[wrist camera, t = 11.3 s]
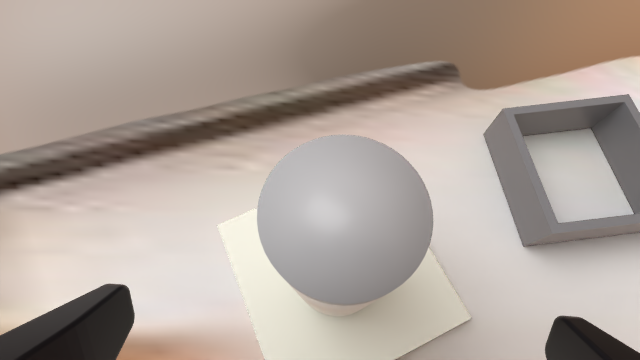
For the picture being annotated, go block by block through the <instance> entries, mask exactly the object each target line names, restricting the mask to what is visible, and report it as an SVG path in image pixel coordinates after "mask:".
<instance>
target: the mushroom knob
mask: <svg viewBox="0 0 640 360" xmlns="http://www.w3.org/2000/svg"><path fill="white" fill-rule="evenodd" d="M257 226H258V233H259V237H260V241H261V244H262V247H263V249H264V252H265V254H266V256H267V257H268V259H269V261H270V263H271V264H272V265H273V267H274V268H275V269H276V271H277V272H278V273H279V274H280V275H281V276H282V277H283V278H284V280H285V281H286V282H287V283H288V284H289V285H290V286H291V287H292V288H293V289H294V290H295V291H296V292H297V293H298V295H299V296H300V297H301V298H302V299H303V300H304V301H305V302H306V303H307V304H308V305H309V306H310V307H312V308H313V309H314V310H316V311H318V312H320V313H322V314H325V315H329V316H346V315H350V314H353V313H355V312H357V311H359V310H361V309H363V308H364V307H366V306H368V305H369V304H371V303H373V302H375V301H376V300H378V299H380V298H381V297H383V296H385V295H387V294H388V293H390V292H392V291H393V290H395V289H396V288H398V287H399V286H400V285H402V284H403V283H404V282H405V281H406V280H407V279H409V278H410V277H411V276H412V274H413V273H414V272H415V271H416V269H417V268H418V267H419V266H420V264H421V262H422V260H423V259H424V257H425V255H426V252H427V250H428V247H429V245H430V241H431V236H432V230H433V211H432V205H431V200H430V197H429V194H428V191H427V189H426V187H425V184H424V182H423V180H422V179H421V177H420V176H419V174H418V172H417V171H416V170H415V169H414V167H413V166H412V165H411V164H410V163H409V162H408V161H407V160H406V159H405V158H404V157H403V156H402V155H400V154H399V153H398V152H396V151H395V150H393V149H392V148H390V147H388V146H386V145H385V144H382V143H380V142H378V141H376V140H372V139H369V138H366V137H361V136H355V135H331V136H325V137H321V138H318V139H314V140H311V141H309V142H307V143H304V144H302V145H301V146H299V147H297V148H295V149H294V150H292V151H291V152H290V153H288V154H287V155H286V156H285V157H284V158H283V159H282V160H280V161H279V162H278V164H277V165H276V166H275V167H274V168H273V170H272V171H271V173H270V174H269V176H268V178H267V179H266V181H265V184H264V186H263V188H262V191H261V194H260V197H259V202H258V208H257Z"/></svg>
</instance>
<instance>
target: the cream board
mask: <svg viewBox="0 0 640 360" xmlns="http://www.w3.org/2000/svg"><path fill="white" fill-rule="evenodd" d="M257 208H258V207H257ZM257 208H255V209H253V210H251V211H248V212H246V213H244V214H241V215H239V216H237V217H235V218H232V219H230V220H228V221H225V222H223V223H221V224H219V225H217V226H218V229H219V232H220V235H221V238H222V240H223V243H224V246H225V249H226V252H227V255H228V257H229V260H230V263H231V266H232V269H233V272H234V274H235V277H236V280H237V283H238V286H239V289H240V291H241V294H242V297H243V300H244V303H245V306H246V308H247V311H248V314H249V317H250V320H251V323H252V325H253V328H254V331H255V334H256V337H257V340H258V342H259V345H260V348H261V351H262V354H263V357H264V359H265V360H395V359H397V358H399V357H401V356H403V355H404V354H406V353H408V352H410V351H412V350H414V349H416V348H417V347H419V346H421V345H423V344H425V343H427V342H429V341H430V340H432V339H434V338H436V337H438V336H440V335H441V334H443V333H445V332H447V331H449V330H451V329H453V328H454V327H456V326H458V325H460V324H462V323H464V322H466V321H467V320H469V319H471V316H470V314H469V313H468V311H467V309H466V308H465V306H464V304H463V303H462V301H461V299H460V298H459V296H458V294H457V293H456V291H455V289H454V288H453V286H452V284H451V283H450V281H449V279H448V278H447V276H446V274H445V273H444V271H443V269H442V268H441V266H440V264H439V263H438V261H437V259H436V258H435V256H434V254H433V253H432V251H431V249H430V248H429V247H428V250H427V252H426V255H425V257H424V259H423V260H422V262H421V264H420V266H419V267H418V268H417V269H416V271H415V272H414V273H413V274H412V276H411V277H410V278H409V279H407V280H406V281H405V282H404V283H403V284H402V285H400V286H399V287H398V288H396V289H395V290H393V291H392V292H390V293H388V294H387V295H385V296H383V297H381V298H380V299H378V300H376V301H375V302H373V303H371V304H369V305H368V306H366V307H364V308H363V309H361V310H359V311H357V312H355V313H353V314H350V315H346V316H329V315H325V314H322V313H320V312H318V311H316V310H314V309H313V308H312V307H310V306H309V305H308V304H307V303H306V302H305V301H304V300H303V299H302V298H301V297H300V296H299V295H298V293H297V292H296V291H295V290H294V289H293V288H292V287H291V286H290V285H289V284H288V283H287V282H286V281H285V280H284V278H283V277H282V276H281V275H280V274H279V273H278V272H277V271H276V269H275V268H274V267H273V265H272V264H271V263H270V261H269V259H268V257H267V256H266V254H265V252H264V249H263V247H262V244H261V241H260V237H259V233H258V226H257Z"/></svg>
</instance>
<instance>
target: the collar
mask: <svg viewBox="0 0 640 360" xmlns="http://www.w3.org/2000/svg"><path fill="white" fill-rule="evenodd" d="M586 128H592V130H593V132H594V134H595V136H596V138H597V140H598V142H599V144H600V146H601V148H602V150H603V152H604V154H605V156H606V158H607V160H608V162H609V164H610V166H611V168H612V170H613V172H614V174H615V176H616V178H617V180H618V182H619V184H620V186H621V188H622V190H623V192H624V194H625V196H626V198H627V200H628V202H629V204H630V205H631V207H632V209H633V211H634V213H635V214H633V215H624V216H616V217H608V218H600V219H591V220H583V221H575V222H566V223H558V222H557V220H556V217H555V215H554V213H553V210H552V208H551V205H550V203H549V200H548V198H547V195H546V193H545V190H544V188H543V186H542V183H541V181H540V178H539V176H538V173H537V171H536V168H535V166H534V163H533V161H532V158H531V156H530V154H529V151H528V149H527V146H526V144H525V141H524V139H523V136H525V135H534V134H542V133H551V132H560V131H568V130H577V129H586ZM484 137H485V140H486V142H487V145H488V148H489V151H490V154H491V156H492V159H493V162H494V165H495V168H496V171H497V173H498V176H499V179H500V182H501V185H502V187H503V190H504V193H505V196H506V199H507V202H508V204H509V207H510V210H511V213H512V216H513V218H514V221H515V224H516V227H517V230H518V233H519V235H520V238H521V241H522V244H523V246H531V245H539V244H547V243H555V242H564V241H572V240H580V239H588V238H597V237H605V236H613V235H621V234H629V233H638V232H640V113H639V111H638V109H637V108H636V106H635V104H634V102H633V101H632V99H631V97H630V96H629V94H627V95H619V96H610V97H601V98H592V99H584V100H575V101H566V102H557V103H549V104H540V105H531V106H522V107H514V108H505V109H502V111H501V112H500V113H499V115H498V116H497V117H496V118H495V120H494V121H493V122H492V124H491V125H490V126H489V127H488V129H487V130H486V131H485V133H484Z"/></svg>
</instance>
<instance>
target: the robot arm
mask: <svg viewBox="0 0 640 360" xmlns="http://www.w3.org/2000/svg"><path fill="white" fill-rule="evenodd" d="M134 316H135V315H134V309H133V305H132V300H131V295H130V291H129V288H128V287H127V286H125V285H121V284H106V285H103V286H101V287H99V288H97V289H95V290H93V291H91V292H89V293H87V294H85V295H83V296H81V297H78V298H76V299H74V300H72V301H70V302H68V303H66V304H64V305H62V306H60V307H58V308H56V309H54V310H52V311H50V312H48V313H46V314H43V315H41V316H39V317H37V318H35V319H33V320H31V321H29V322H27V323H25V324H23V325H21V326H19V327H17V328H15V329H13V330H11V331H9V332H6V333H4V334H2V335H0V360H116V358H117V356H118V354H119V352H120V350H121V348H122V346H123V344H124V342H125V340H126V338H127V336H128V334H129V332H130V330H131V328H132V326H133V323H134ZM545 354H546V358H547V360H640V353H638V352H637V351H635V350H634V349H632V348H630V347H629V346H627V345H625V344H624V343H622V342H620V341H619V340H617V339H616V338H614V337H612V336H611V335H609V334H607V333H606V332H604V331H602V330H601V329H599V328H598V327H596V326H594V325H593V324H591V323H589V322H588V321H586V320H584V319H583V318H580V317H572V316H558V317H557V318H556V319H555V320H554V323H553V325H552V328H551V331H550V334H549V337H548V340H547V342H546V346H545Z"/></svg>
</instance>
